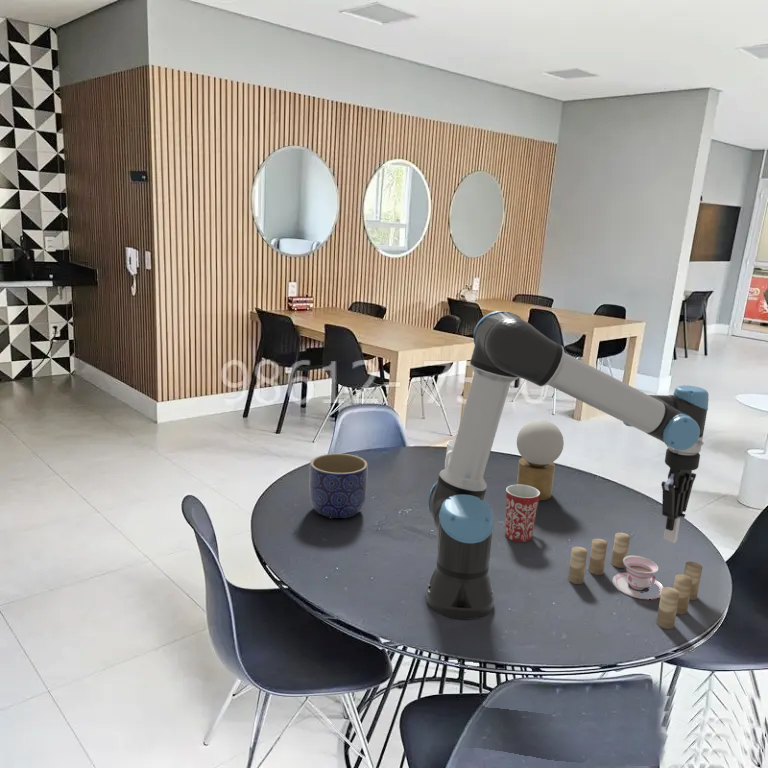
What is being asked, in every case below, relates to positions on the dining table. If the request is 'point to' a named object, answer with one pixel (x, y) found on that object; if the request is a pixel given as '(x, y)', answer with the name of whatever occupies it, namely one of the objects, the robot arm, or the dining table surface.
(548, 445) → the lamp
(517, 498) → the mug
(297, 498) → the dining table surface
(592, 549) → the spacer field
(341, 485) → the planter
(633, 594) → the teacup
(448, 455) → the cup
